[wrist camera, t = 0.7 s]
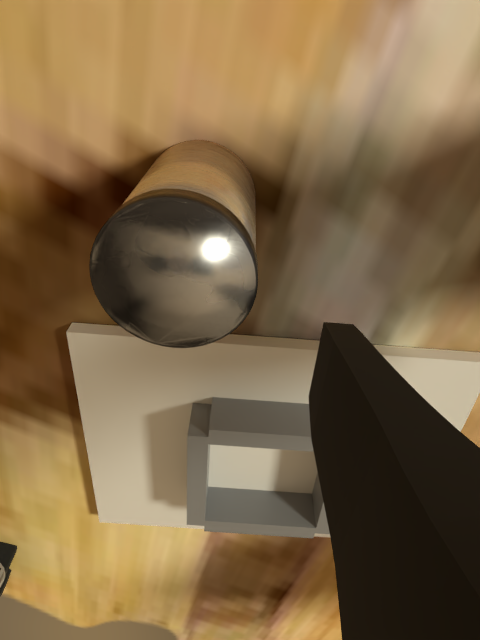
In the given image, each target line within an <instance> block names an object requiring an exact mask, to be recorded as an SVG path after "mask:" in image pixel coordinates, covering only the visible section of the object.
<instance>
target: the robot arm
mask: <svg viewBox="0 0 480 640" xmlns="http://www.w3.org/2000/svg"><path fill="white" fill-rule="evenodd" d="M308 397H309V414H310V428H311V440H312V445H313V451H314V456H315V461H316V466H317V471H318V477H319V482H320V487H321V492H322V497H323V502H324V507H325V512H326V517H327V522H328V527H329V532H330V537H331V543H332V549H333V555H334V562H335V570H336V579H337V589H338V599H339V609H340V619H341V631H342V640H480V448H479V447H478V446H476V445H475V444H474V443H473V442H472V441H470V440H469V439H468V438H467V437H466V436H465V435H463V434H462V433H461V432H460V431H459V430H458V429H456V428H455V427H454V426H453V425H452V424H451V423H450V422H449V421H448V420H447V419H446V418H444V417H443V416H442V415H441V414H440V413H439V412H438V411H437V410H436V409H435V408H433V407H432V406H431V405H430V404H429V403H428V402H427V401H426V400H425V399H424V398H423V397H422V396H421V395H420V394H419V393H418V392H417V391H416V390H415V389H414V388H413V387H412V386H411V385H410V384H409V383H408V382H407V381H406V380H405V379H404V378H403V377H402V376H401V375H400V374H399V373H398V372H397V371H396V370H395V369H394V368H393V366H392V365H391V364H390V363H389V362H388V361H387V360H386V359H385V358H384V357H383V356H382V355H381V354H380V353H379V351H378V350H377V349H376V348H375V347H374V346H373V345H372V344H371V343H370V342H369V341H368V339H367V338H366V337H365V336H364V335H363V334H362V333H361V332H360V331H359V330H358V329H357V328H356V327H355V326H354V325H353V324H340V323H326V322H324V324H323V329H322V333H321V338H320V343H319V348H318V353H317V358H316V362H315V367H314V372H313V377H312V382H311V386H310V391H309V396H308Z"/></svg>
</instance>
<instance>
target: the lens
mask: <svg viewBox="0 0 480 640" xmlns="http://www.w3.org/2000/svg"><path fill="white" fill-rule="evenodd" d="M89 265H90V277H91V282H92V286H93V289H94V292H95V294H96V296H97V298H98V300H99V302H100V304H101V305H102V307H103V308H104V310H105V311H106V312H107V314H108V315H109V316H110V317H111V318H112V319H113V320H114V321H115V322H116V323H117V324H118V325H119V326H121V327H122V328H123V329H125V330H126V331H127V332H129V333H131V334H132V335H134V336H136V337H138V338H140V339H142V340H144V341H147V342H150V343H152V344H155V345H160V346H164V347H171V348H192V347H198V346H204V345H207V344H210V343H213V342H215V341H217V340H220V339H222V338H223V337H225V336H227V335H228V334H230V333H231V332H232V331H234V330H235V329H236V328H237V327H238V326H239V325H240V324H241V323H242V322H243V321H244V319H245V318H246V317H247V315H248V314H249V312H250V310H251V308H252V306H253V303H254V300H255V297H256V293H257V286H258V263H257V255H256V194H255V187H254V183H253V179H252V177H251V174H250V172H249V170H248V169H247V167H246V166H245V164H244V163H243V161H242V160H241V159H240V158H239V157H238V156H237V155H236V154H234V153H233V152H232V151H231V150H229V149H227V148H226V147H224V146H222V145H220V144H217V143H214V142H211V141H205V140H190V141H184V142H181V143H178V144H176V145H173V146H172V147H170V148H168V149H167V150H165V151H164V152H163V153H162V154H161V155H160V156H159V157H158V158H157V159H156V161H155V162H154V163H153V165H152V166H151V167H150V169H149V170H148V171H147V172H146V174H145V175H144V176H143V178H142V179H141V180H140V182H139V183H138V184H137V186H136V187H135V188H134V190H133V191H132V192H131V194H130V195H129V196H128V198H127V199H126V200H125V202H124V203H123V204H122V205H121V206H120V207H119V208H118V209H117V210H116V211H115V212H114V213H113V215H112V216H111V217H110V218H109V219H108V221H107V222H106V223H105V225H104V226H103V227H102V229H101V230H100V232H99V233H98V235H97V237H96V239H95V242H94V244H93V247H92V251H91V255H90V264H89Z"/></svg>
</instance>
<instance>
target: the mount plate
mask: <svg viewBox="0 0 480 640" xmlns="http://www.w3.org/2000/svg"><path fill="white" fill-rule="evenodd" d="M66 334H67V340H68V345H69V351H70V357H71V362H72V368H73V374H74V379H75V385H76V391H77V397H78V402H79V408H80V414H81V419H82V425H83V431H84V436H85V442H86V448H87V453H88V459H89V465H90V470H91V476H92V482H93V488H94V493H95V499H96V505H97V510H98V516H99V522H105V523H120V524H135V525H150V526H165V527H180V528H195V529H204V531H210V532H225V533H240V534H255V535H270V536H285V537H300V538H314V536H315V537H330V532H329V527H328V522H327V517H326V512H325V507H324V502H323V497H322V492H321V487H320V482H319V477H318V471H317V466H316V461H315V456H314V451H313V445H312V440H311V428H310V414H309V397H308V396H309V391H310V386H311V382H312V377H313V372H314V367H315V362H316V358H317V353H318V348H319V343H320V341H318V340H304V339H291V338H277V337H263V336H250V335H236V334H228V335H227V336H225V337H223V338H222V339H220V340H217V341H215V342H213V343H210V344H207V345H204V346H198V347H192V348H171V347H164V346H160V345H155V344H152V343H150V342H147V341H144V340H142V339H140V338H138V337H136V336H134V335H132V334H131V333H129V332H127V331H126V330H125V329H123V328H122V327H121V326H113V325H99V324H86V323H71V325H70V327H69V328H68V330H67V332H66ZM373 346H374V347H375V348H376V349H377V350H378V351H379V353H380V354H381V355H382V356H383V357H384V358H385V359H386V360H387V361H388V362H389V363H390V364H391V365H392V366H393V368H394V369H395V370H396V371H397V372H398V373H399V374H400V375H401V376H402V377H403V378H404V379H405V380H406V381H407V382H408V383H409V384H410V385H411V386H412V387H413V388H414V389H415V390H416V391H417V392H418V393H419V394H420V395H421V396H422V397H423V398H424V399H425V400H426V401H427V402H428V403H429V404H430V405H431V406H432V407H433V408H435V409H436V410H437V411H438V412H439V413H440V414H441V415H442V416H443V417H444V418H446V419H447V420H448V421H449V422H450V423H451V424H452V425H453V426H454V427H455V428H456V429H458V430H459V431H460V432H461V430H462V428H463V426H464V424H465V422H466V420H467V418H468V416H469V414H470V412H471V410H472V408H473V405H474V403H475V401H476V399H477V397H478V395H479V393H480V352H468V351H454V350H441V349H427V348H413V347H400V346H386V345H373ZM330 538H331V537H330Z"/></svg>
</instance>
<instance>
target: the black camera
mask: <svg viewBox="0 0 480 640" xmlns="http://www.w3.org/2000/svg"><path fill="white" fill-rule="evenodd" d="M16 550H17V546H15V545H11V544H7V543H3V542H0V596H1V595H2V593H3V591H4V588H5V586H6V584H7V581H8V579H9V576H10V572H11V570H10V569H9V566H10V564H11V562H12V560H13V558H14V555H15V553H16Z"/></svg>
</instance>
